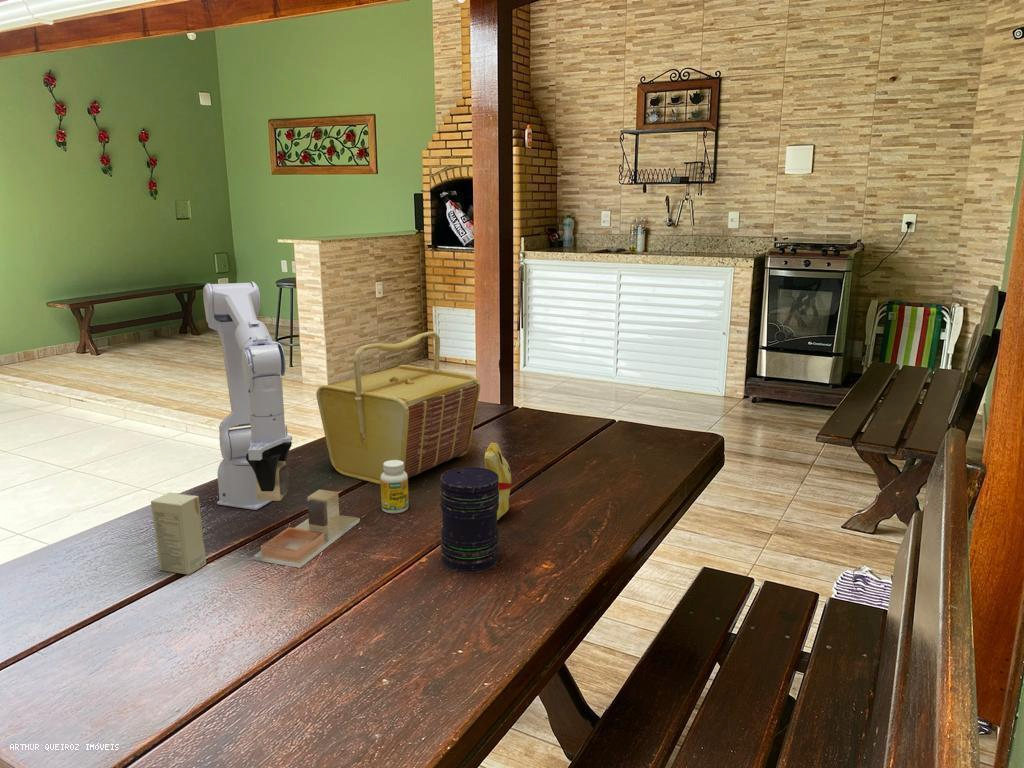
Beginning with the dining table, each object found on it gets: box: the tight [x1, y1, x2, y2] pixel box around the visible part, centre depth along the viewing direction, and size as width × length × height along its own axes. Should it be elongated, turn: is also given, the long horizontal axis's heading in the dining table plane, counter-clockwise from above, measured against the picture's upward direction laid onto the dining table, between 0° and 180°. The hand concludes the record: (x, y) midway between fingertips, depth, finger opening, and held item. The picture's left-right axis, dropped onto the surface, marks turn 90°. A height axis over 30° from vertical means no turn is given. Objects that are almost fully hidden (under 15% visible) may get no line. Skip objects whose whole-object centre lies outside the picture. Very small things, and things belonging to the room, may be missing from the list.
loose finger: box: [256, 461, 290, 502], centre depth 136 cm, size 4×5×6 cm
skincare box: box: [150, 492, 207, 575], centre depth 124 cm, size 6×4×12 cm
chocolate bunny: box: [483, 442, 513, 521], centre depth 146 cm, size 7×11×15 cm, turn 155°
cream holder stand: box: [253, 489, 360, 569], centre depth 135 cm, size 9×20×7 cm, turn 162°
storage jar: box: [439, 466, 500, 574], centre depth 127 cm, size 10×10×15 cm
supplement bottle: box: [380, 460, 410, 514], centre depth 149 cm, size 5×5×10 cm
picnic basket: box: [315, 331, 481, 486], centre depth 172 cm, size 29×26×30 cm
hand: (271, 486), depth 136 cm, fingers closed on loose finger, 4 cm apart
